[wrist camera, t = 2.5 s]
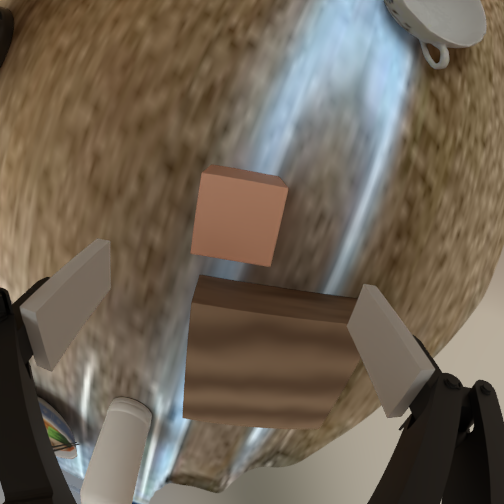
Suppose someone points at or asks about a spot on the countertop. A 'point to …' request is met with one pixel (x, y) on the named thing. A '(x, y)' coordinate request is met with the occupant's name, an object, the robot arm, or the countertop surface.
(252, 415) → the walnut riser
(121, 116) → the countertop surface
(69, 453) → the ramen bowl
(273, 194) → the terracotta cube
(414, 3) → the teacup
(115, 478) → the bottle
